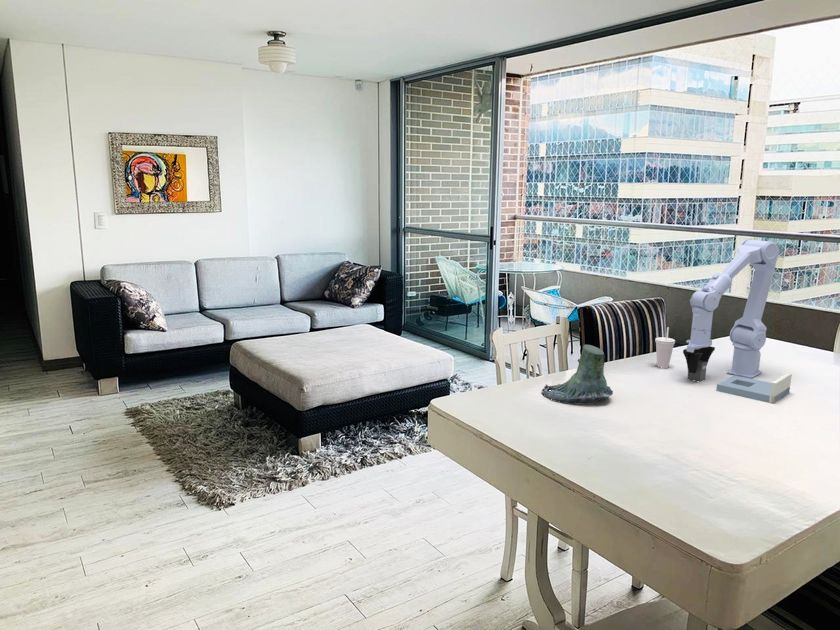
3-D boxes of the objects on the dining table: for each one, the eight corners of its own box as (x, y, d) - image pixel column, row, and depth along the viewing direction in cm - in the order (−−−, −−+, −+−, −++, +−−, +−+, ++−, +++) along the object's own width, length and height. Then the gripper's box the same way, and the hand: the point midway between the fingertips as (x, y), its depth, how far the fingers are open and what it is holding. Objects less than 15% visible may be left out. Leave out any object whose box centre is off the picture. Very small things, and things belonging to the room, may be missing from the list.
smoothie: (669, 370, 214) (673, 329, 212) (650, 367, 218) (653, 327, 215) (675, 366, 219) (678, 326, 217) (656, 363, 223) (659, 324, 220)
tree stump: (559, 382, 201) (576, 330, 196) (616, 411, 190) (636, 357, 184) (529, 393, 188) (547, 338, 182) (589, 425, 176) (610, 367, 171)
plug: (692, 376, 208) (694, 359, 206) (705, 379, 205) (707, 361, 203) (687, 379, 205) (689, 361, 204) (700, 382, 202) (702, 364, 201)
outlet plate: (733, 381, 203) (735, 362, 202) (789, 393, 192) (791, 373, 191) (716, 390, 194) (718, 371, 193) (773, 403, 183) (776, 383, 181)
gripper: (698, 323, 209) (694, 363, 212) (678, 330, 199) (674, 371, 202) (720, 327, 204) (715, 368, 207) (701, 333, 194) (697, 376, 197)
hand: (696, 370), depth 204 cm, fingers open, 7 cm apart
